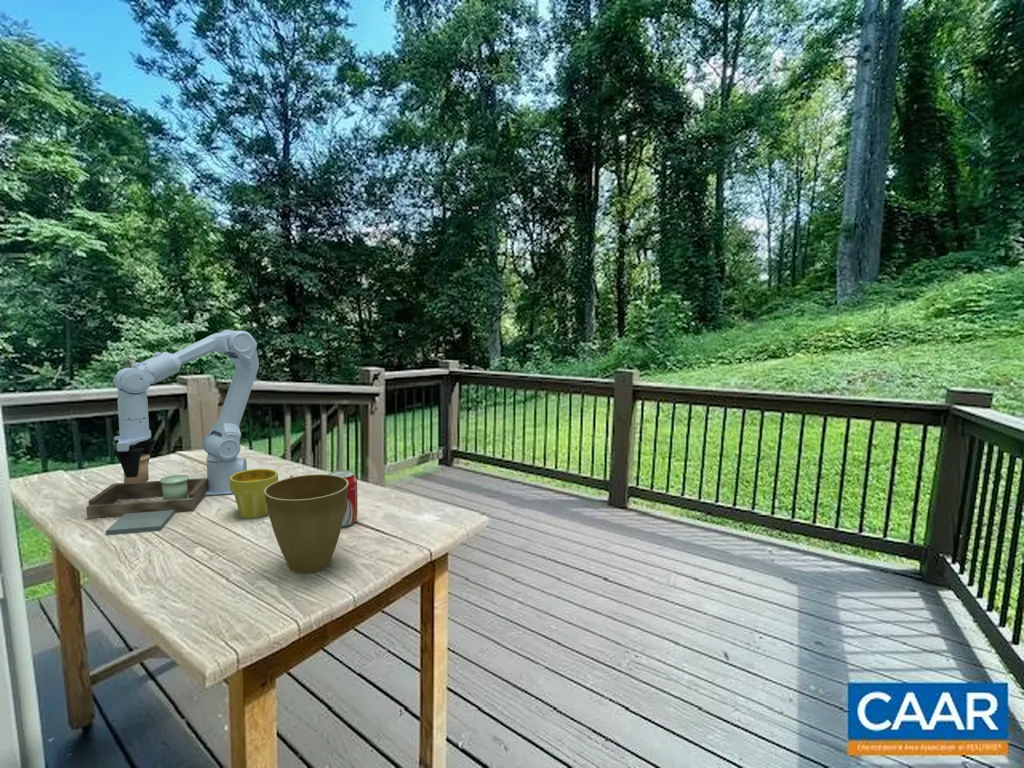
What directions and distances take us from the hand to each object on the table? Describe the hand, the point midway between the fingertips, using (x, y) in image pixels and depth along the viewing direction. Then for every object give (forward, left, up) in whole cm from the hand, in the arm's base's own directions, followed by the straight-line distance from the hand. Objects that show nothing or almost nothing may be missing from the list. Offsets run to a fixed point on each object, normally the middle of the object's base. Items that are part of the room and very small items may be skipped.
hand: (136, 473), depth 122 cm
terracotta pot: (0, 0, -2) cm, 2 cm away
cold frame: (-2, -2, -9) cm, 9 cm away
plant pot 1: (-27, +10, -9) cm, 30 cm away
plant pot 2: (-41, +41, -9) cm, 59 cm away
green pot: (-7, -2, -9) cm, 12 cm away
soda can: (-47, +21, -9) cm, 52 cm away
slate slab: (-4, +11, -9) cm, 15 cm away
